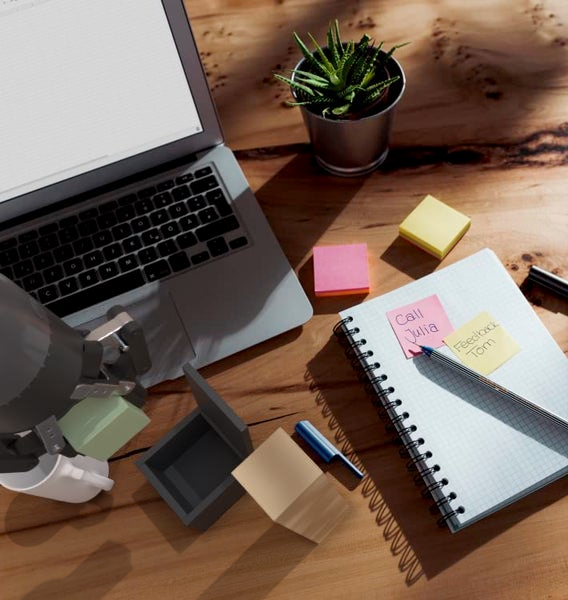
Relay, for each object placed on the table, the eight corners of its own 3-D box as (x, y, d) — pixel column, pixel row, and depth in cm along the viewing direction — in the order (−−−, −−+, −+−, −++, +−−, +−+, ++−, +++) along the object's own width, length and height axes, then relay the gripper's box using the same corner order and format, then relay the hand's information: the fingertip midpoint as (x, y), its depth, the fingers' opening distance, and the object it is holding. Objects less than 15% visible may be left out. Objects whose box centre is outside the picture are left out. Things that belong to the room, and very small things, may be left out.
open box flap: (241, 432, 61) (248, 426, 61) (181, 366, 64) (187, 361, 64) (250, 463, 69) (256, 458, 69) (196, 404, 72) (202, 399, 72)
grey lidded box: (205, 531, 73) (186, 526, 67) (156, 473, 76) (133, 462, 70) (267, 472, 76) (254, 461, 70) (217, 417, 79) (201, 402, 72)
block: (103, 463, 50) (76, 451, 46) (70, 421, 52) (40, 407, 47) (151, 421, 51) (128, 406, 47) (117, 382, 53) (92, 364, 49)
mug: (41, 494, 75) (-22, 477, 64) (71, 438, 78) (15, 413, 67) (119, 523, 74) (68, 511, 63) (147, 465, 76) (103, 444, 66)
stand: (318, 544, 73) (273, 521, 49) (288, 510, 74) (230, 472, 50) (351, 510, 74) (323, 472, 50) (321, 478, 76) (280, 426, 52)
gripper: (51, 222, 39) (154, 328, 54) (-180, 391, 35) (3, 453, 50) (126, 304, 36) (211, 390, 52) (-112, 494, 33) (58, 525, 48)
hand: (109, 421), depth 51 cm, fingers closed on block, 4 cm apart
